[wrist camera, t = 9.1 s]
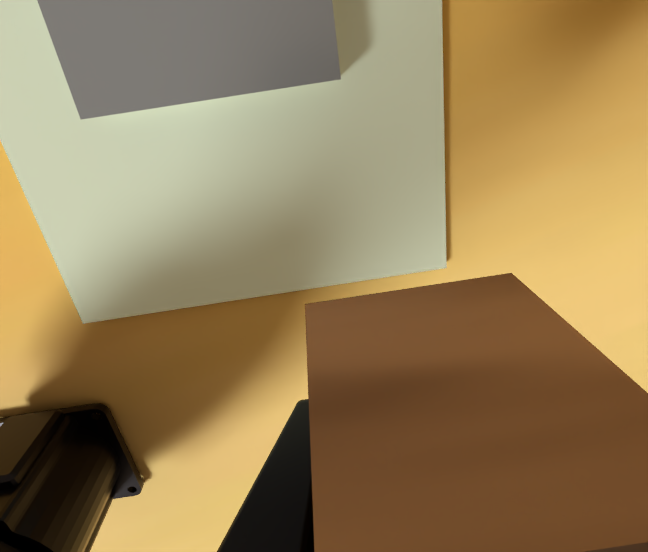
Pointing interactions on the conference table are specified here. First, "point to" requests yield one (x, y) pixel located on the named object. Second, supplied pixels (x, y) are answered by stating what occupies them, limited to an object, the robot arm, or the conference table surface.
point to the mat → (236, 171)
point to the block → (470, 426)
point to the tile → (187, 49)
